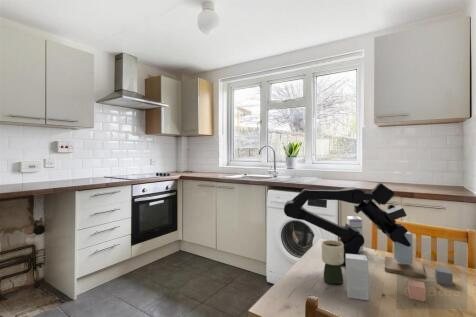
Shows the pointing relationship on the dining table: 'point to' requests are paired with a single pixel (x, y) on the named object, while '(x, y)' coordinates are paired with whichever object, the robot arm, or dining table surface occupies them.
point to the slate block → (404, 251)
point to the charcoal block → (443, 276)
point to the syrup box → (356, 225)
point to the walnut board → (404, 267)
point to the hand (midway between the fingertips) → (407, 243)
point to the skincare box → (357, 276)
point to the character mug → (333, 260)
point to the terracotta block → (416, 290)
